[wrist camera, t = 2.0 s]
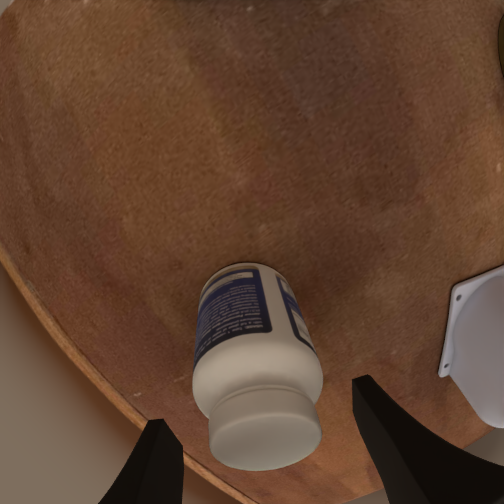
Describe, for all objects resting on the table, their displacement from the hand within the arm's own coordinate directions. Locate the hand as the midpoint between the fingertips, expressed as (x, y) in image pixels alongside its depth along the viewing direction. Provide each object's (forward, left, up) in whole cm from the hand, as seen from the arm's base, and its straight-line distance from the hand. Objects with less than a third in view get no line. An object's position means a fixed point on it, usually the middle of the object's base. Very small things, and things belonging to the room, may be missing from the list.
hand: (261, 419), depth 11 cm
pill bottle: (0, 0, -9) cm, 9 cm away
